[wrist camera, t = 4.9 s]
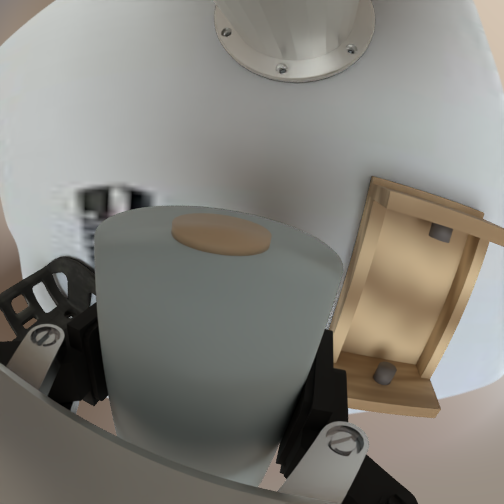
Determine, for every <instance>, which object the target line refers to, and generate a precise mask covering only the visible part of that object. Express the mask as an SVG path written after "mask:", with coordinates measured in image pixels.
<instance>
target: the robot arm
mask: <svg viewBox="0 0 504 504" xmlns="http://www.w3.org/2000/svg"><path fill="white" fill-rule="evenodd" d="M213 1H214V2H215V4H216V6H215V13H214V23H215V30H216V32H217V35H218V38H219V40H220V42H221V44H222V45H223V47H224V48H225V50H226V51H227V52H228V53H229V54H230V55H231V57H232V58H233V59H235V60H236V61H237V62H238V63H239V64H241V65H242V66H243V67H245V68H246V69H248V70H250V71H252V72H253V73H255V74H258V75H261V76H263V77H266V78H269V79H273V80H279V81H284V82H308V81H317V80H320V79H324V78H327V77H331V76H333V75H335V74H338V73H340V72H342V71H344V70H346V69H347V68H348V67H350V66H351V65H352V64H354V63H355V62H356V61H357V60H358V59H359V58H360V57H361V56H362V55H363V53H364V52H365V51H366V49H367V47H368V45H369V43H370V41H371V39H372V36H373V33H374V27H375V13H374V7H373V4H372V2H371V0H213ZM229 34H231V35H230V36H228V37H227V35H229ZM348 50H352V51H353V52H354V54H350V53H348ZM282 69H285V70H286V73H284V74H281V73H280V70H282ZM107 396H108V390H107V385H106V379H105V372H104V366H103V359H102V351H101V343H100V334H99V325H98V314H97V302H96V303H95V304H93V305H92V306H90V307H89V308H88V309H86V310H85V311H84V312H82V313H81V314H79V315H78V316H77V317H75V318H74V319H73V320H71V321H70V322H69V323H67V328H66V329H65V330H64V331H63V330H62V329H61V328H60V327H58V326H56V325H53V324H41V325H38V326H35V327H34V328H32V329H31V330H30V331H29V332H28V333H27V335H26V336H25V338H24V339H23V341H7V342H0V504H418V503H417V500H416V498H415V497H414V496H413V494H411V492H409V491H408V490H407V489H406V488H405V487H404V486H402V485H401V484H400V483H399V482H397V481H396V480H395V479H394V478H392V476H390V475H389V474H388V473H387V472H386V471H385V470H384V469H382V468H381V467H380V466H379V465H378V464H377V463H375V462H374V461H373V460H372V459H371V458H370V457H369V456H367V455H366V453H367V451H368V447H369V441H368V437H367V436H366V434H365V432H363V430H362V429H360V428H359V427H357V426H356V425H354V424H351V423H348V396H347V374H346V371H345V370H342V369H337V368H334V360H333V331H331V330H327V329H325V330H324V333H323V336H322V338H321V341H320V344H319V347H318V350H317V353H316V355H315V358H314V361H313V363H312V366H311V369H310V371H309V374H308V376H307V379H306V382H305V384H304V387H303V389H302V392H301V394H300V397H299V399H298V402H297V404H296V407H295V409H294V411H293V414H292V416H291V419H290V421H289V423H288V426H287V428H286V430H285V432H284V435H283V437H282V439H281V441H280V446H279V450H278V455H277V459H276V463H277V464H281V469H280V473H282V474H284V477H285V478H286V479H287V480H286V481H285V482H284V484H283V485H282V486H281V487H280V489H279V490H278V491H277V492H275V491H271V490H267V489H262V488H258V487H254V486H250V485H247V484H243V483H239V482H235V481H232V480H228V479H224V478H221V477H218V476H215V475H211V474H208V473H205V472H202V471H199V470H196V469H193V468H190V467H188V466H185V465H182V464H179V463H177V462H174V461H172V460H169V459H166V458H164V457H161V456H159V455H157V454H154V453H152V452H149V451H147V450H145V449H143V448H140V447H138V446H136V445H134V444H132V443H129V442H127V441H125V440H123V439H121V438H119V437H117V436H115V435H113V434H111V433H109V432H107V431H105V430H103V429H101V428H99V427H97V426H96V425H94V424H92V423H90V422H88V421H87V420H85V419H83V418H81V417H80V416H78V415H76V411H77V408H78V405H79V401H81V400H82V399H83V400H84V401H85V402H87V403H89V404H91V405H93V406H95V405H96V404H97V402H98V401H99V400H100V401H103V400H104V399H105V398H106V397H107Z"/></svg>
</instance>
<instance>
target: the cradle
mask: <svg viewBox="0 0 504 504" xmlns="http://www.w3.org/2000/svg"><path fill="white" fill-rule="evenodd" d="M483 216H484V213H483V212H480V211H478V210H475V209H473V208H470V207H467V206H465V205H462V204H459V203H456V202H453V201H451V200H448V199H445V198H442V197H439V196H436V195H433V194H430V193H427V192H424V191H421V190H418V189H414V188H411V187H408V186H405V185H401V184H398V183H395V182H391V181H388V180H384V179H381V178H377V177H374V176H372V177H371V182H370V186H369V190H368V195H367V199H366V203H365V207H364V211H363V215H362V219H361V223H360V227H359V231H358V235H357V238H356V242H355V246H354V249H353V253H352V257H351V260H350V264H349V267H348V270H347V274H346V277H345V280H344V284H343V287H342V290H341V293H340V297H339V300H338V303H337V306H336V309H335V312H334V315H333V318H332V321H331V324H330V327H329V330H331V331H333V360H334V368H337V369H342V370H345V371H346V374H347V396H348V408H352V409H358V410H365V411H372V412H379V413H387V414H395V415H406V416H416V417H427V418H435V417H436V416H437V414H438V413H439V411H440V410H441V408H440V405H439V403H438V400H437V397H436V394H435V392H434V389H433V386H432V384H431V381H430V378H431V376H432V374H433V372H434V371H435V369H436V367H437V365H438V363H439V362H440V360H441V358H442V356H443V354H444V352H445V350H446V348H447V346H448V344H449V342H450V340H451V338H452V336H453V334H454V332H455V330H456V328H457V326H458V323H459V321H460V319H461V317H462V314H463V312H464V310H465V307H466V305H467V303H468V300H469V298H470V295H471V293H472V290H473V288H474V285H475V283H476V280H477V277H478V274H479V272H480V269H481V266H482V263H483V260H484V257H485V254H486V251H487V248H488V245H489V241H490V242H493V243H495V244H498V245H501V246H503V247H504V228H502V227H500V226H498V225H495V224H493V223H491V222H489V221H486V220H484V219H483Z"/></svg>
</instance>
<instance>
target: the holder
mask: <svg viewBox="0 0 504 504" xmlns="http://www.w3.org/2000/svg"><path fill="white" fill-rule="evenodd" d="M59 272H62V273H64V274H65V275H66V277H67V280H68V299H66V298H65V297H64V296H63V294H62V293H61V292H60V290H59V288H58V287H57V285H56V283H55V281H54V278H53V275H52V274H53V273H59ZM40 282H43V283H44V285H45V287H46V289H47V291H48V293H49V295H50V296H51V298H52V299H53V301H54V302H55V304H56V305H57V307H56V308H54V309H53V310H52V311H50V312H49V313H45V312H44V311H43V309H42V308H41V306H40V305H39V303H38V301H37V299H36V297H35V295H34V293H33V289H32V288H33V286H35V285H36V284H38V283H40ZM90 293H93V294H94V295H96V284H95V275H94V274H93V273H92V272H91V271H90V270H89V269H88V268H86V267H85V266H84V265H82V264H81V263H80V262H78V261H76V260H73V259H70V258H67V257H60V258H57V259H55V260H53V261H52V262H50V263H49V264H48V265H47V266H45V267H44V268H42V269H41V270H39V271H37V272H36V273H34V274H32V275H30V276H29V277H27V278H25V279H24V280H22V281H20V282H19V283H17V284H15V285H14V286H12V287H10V288H9V289H7V290H6V291H4V292H2V293H1V294H0V310H1V311H2V312H3V313H4V315H5V317H6V319H7V321H8V323H9V325H10V326H11V328H12V329H13V331H14V333H15V334H16V336H17V337H16V339H14V340H13V341H23V339H24V338H25V336H26V335H27V333H28V332H29V331H30V330H31V329H32V328H34V327H35V326H38V325H41V324H53V325H56V326H58V327H60V328H61V329H62V330H63V331H64V330H65V329H66V328H67V323H69V322H70V321H71V320H73V319H74V318H75V317H77V316H78V315H79V314H81V313H82V312H84V311H85V310H86V309H88V308H89V300H90ZM21 294H22V295H23V296H24V298H25V300H26V302H27V304H28V307H27V308H26V309H24V310H23V311H22V312H20V313H18V314H16V313H15V311H14V310H13V308H12V305H11V302H12V300H13V299H14V298H16V297H17V296H19V295H21ZM71 316H72V318H69V317H71ZM32 318H35V319H37V322H36V323H34V324H33V325H32V326H31V327H29V328H28V329H25V328H24V327H23V325H24V324H25V323H26V322H28V321H29V320H31V319H32Z"/></svg>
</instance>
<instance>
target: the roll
mask: <svg viewBox="0 0 504 504" xmlns="http://www.w3.org/2000/svg"><path fill="white" fill-rule="evenodd" d="M94 249H95V284H96V301H97V314H98V325H99V334H100V343H101V351H102V359H103V366H104V372H105V379H106V385H107V390H108V396H109V401H110V406H111V411H112V416H113V421H114V425H115V429H116V434H117V437H119V438H121V439H123V440H125V441H127V442H129V443H132V444H134V445H136V446H138V447H140V448H143V449H145V450H147V451H149V452H152V453H154V454H157V455H159V456H161V457H164V458H166V459H169V460H172V461H174V462H177V463H179V464H182V465H185V466H188V467H190V468H193V469H196V470H199V471H202V472H205V473H208V474H211V475H215V476H218V477H221V478H224V479H228V480H232V481H235V482H239V483H243V484H247V485H250V486H254V487H258V486H259V485H260V483H261V482H262V479H263V478H264V476H265V474H266V472H267V470H268V467H269V465H270V463H271V461H272V459H273V457H274V455H275V453H276V450H277V448H278V445H279V444H280V441H281V439H282V437H283V435H284V432H285V430H286V428H287V426H288V423H289V421H290V419H291V416H292V414H293V411H294V409H295V407H296V404H297V402H298V399H299V397H300V394H301V392H302V389H303V387H304V384H305V382H306V379H307V376H308V374H309V371H310V369H311V366H312V363H313V361H314V358H315V355H316V353H317V350H318V347H319V344H320V341H321V338H322V336H323V333H324V330H325V327H326V324H327V321H328V318H329V315H330V312H331V309H332V306H333V303H334V300H335V296H336V293H337V290H338V287H339V284H340V280H341V277H342V274H343V263H342V261H341V259H340V257H339V256H338V255H337V253H336V252H335V251H334V250H332V249H331V248H330V247H329V246H328V245H326V244H325V243H323V242H322V241H320V240H319V239H317V238H315V237H313V236H312V235H310V234H308V233H305V232H303V231H301V230H299V229H296V228H294V227H291V226H289V225H286V224H283V223H280V222H277V221H274V220H271V219H267V218H263V217H260V216H256V215H251V214H247V213H242V212H237V211H231V210H225V209H217V208H209V207H198V206H154V207H145V208H138V209H133V210H129V211H125V212H122V213H118V214H116V215H114V216H111V217H109V218H108V219H106V220H104V221H103V222H102V223H101V224H100V225H99V226H98V228H97V229H96V232H95V236H94Z"/></svg>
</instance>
